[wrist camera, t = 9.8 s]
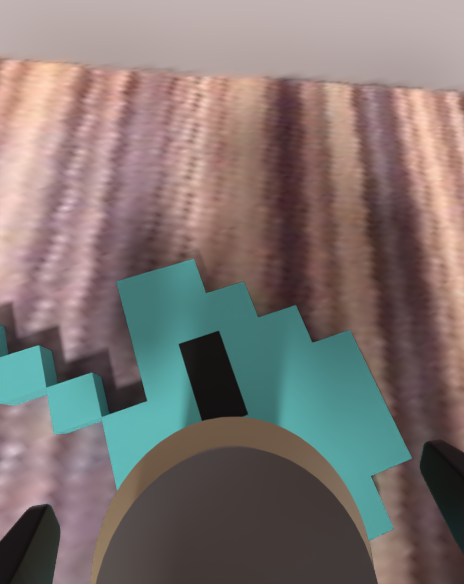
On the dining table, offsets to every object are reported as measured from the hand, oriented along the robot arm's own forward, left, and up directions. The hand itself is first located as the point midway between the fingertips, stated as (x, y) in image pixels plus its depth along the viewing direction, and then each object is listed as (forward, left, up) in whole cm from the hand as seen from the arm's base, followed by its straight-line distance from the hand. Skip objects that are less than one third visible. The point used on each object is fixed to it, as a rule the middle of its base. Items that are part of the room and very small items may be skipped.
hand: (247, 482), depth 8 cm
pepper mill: (-1, 0, -8) cm, 9 cm away
